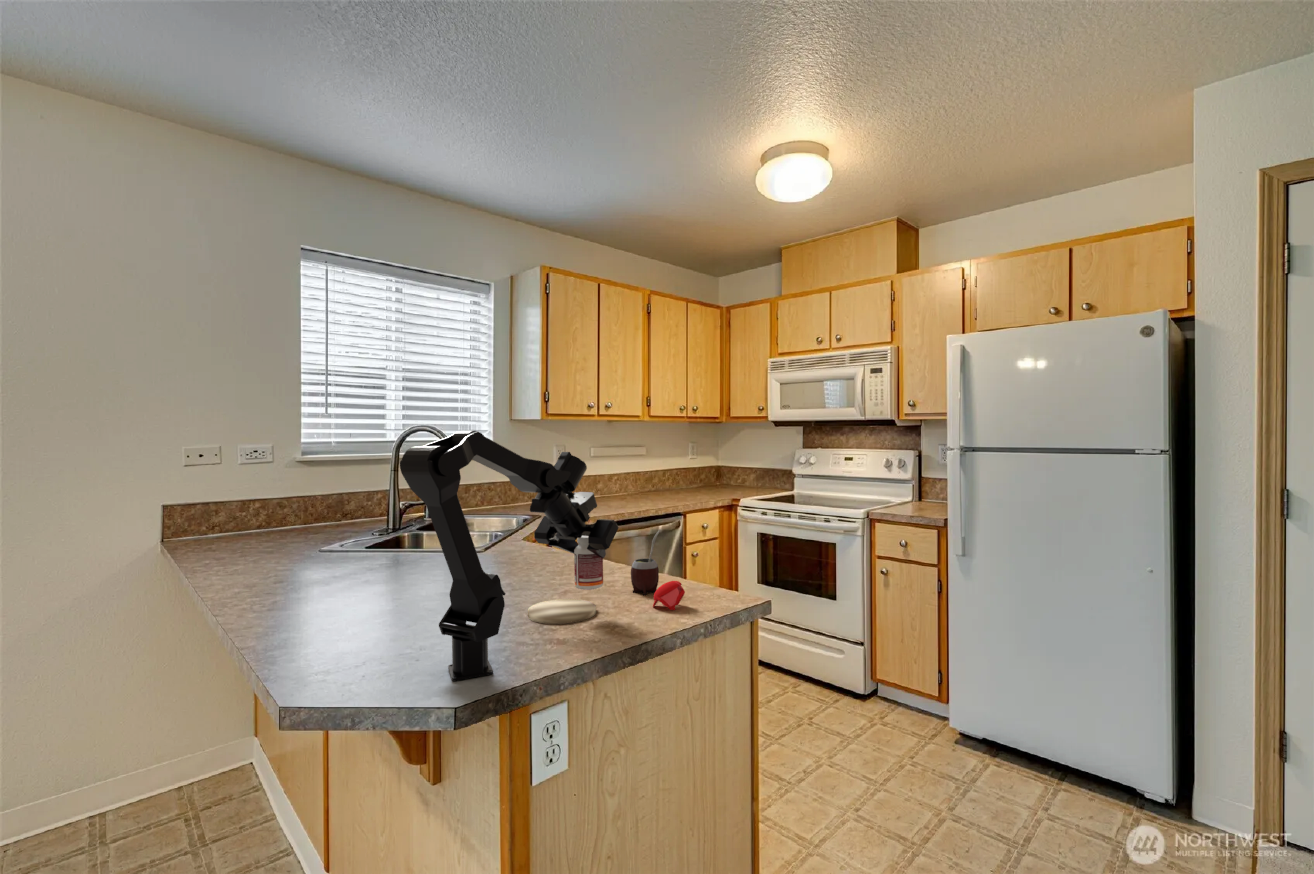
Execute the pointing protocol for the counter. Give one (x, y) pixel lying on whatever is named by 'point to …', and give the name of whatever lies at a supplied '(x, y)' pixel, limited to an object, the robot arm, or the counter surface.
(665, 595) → the cap
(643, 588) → the mate gourd
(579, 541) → the pill bottle
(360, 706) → the counter surface
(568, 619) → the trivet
